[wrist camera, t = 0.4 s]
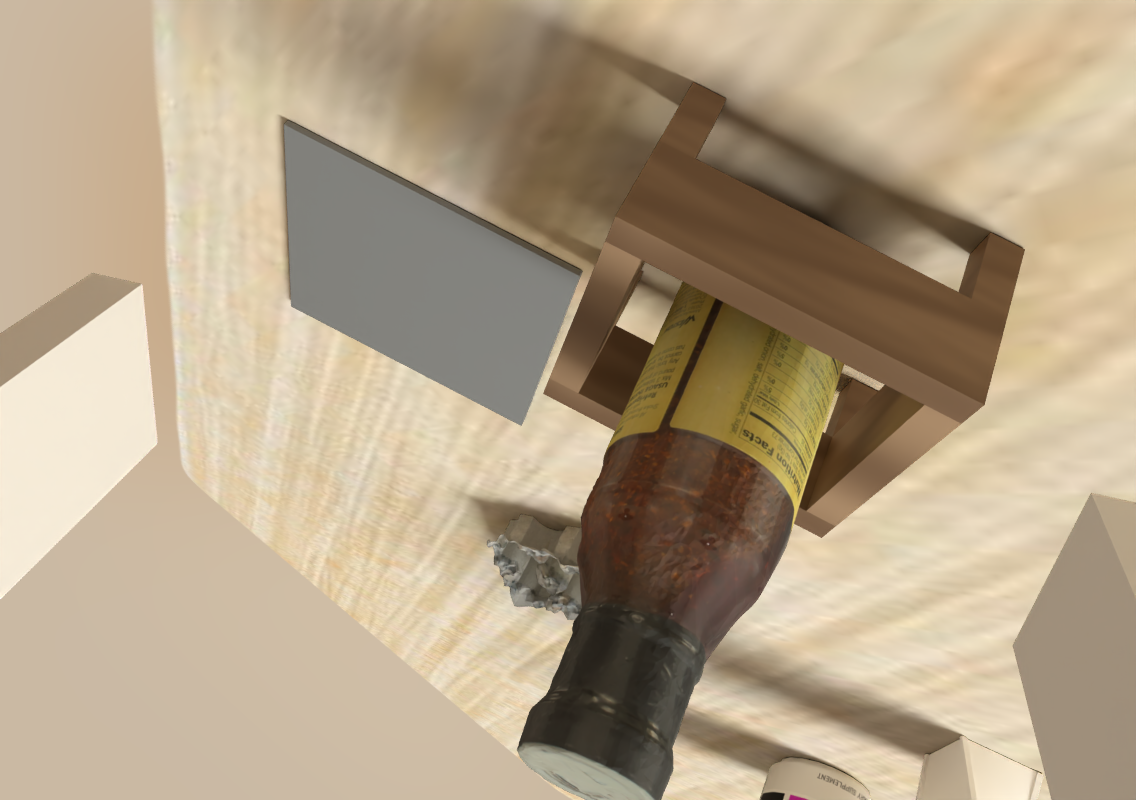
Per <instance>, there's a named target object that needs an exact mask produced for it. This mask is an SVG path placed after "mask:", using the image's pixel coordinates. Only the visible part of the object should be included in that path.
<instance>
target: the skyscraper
mask: <svg viewBox="0 0 1136 800" xmlns="http://www.w3.org/2000/svg"><path fill="white" fill-rule="evenodd" d="M1042 780H1043V774H1041V773H1039V772H1036V771H1034V770H1032V769H1030V768H1028V767H1026V766H1024V765H1022V764H1019V763H1017V762H1015V761H1013V760H1011V759H1009V758H1007V757H1004V756H1002V755H1000V754H998V753H996V752H994V751H992V750H990V749H987V748H985V747H983V746H981V745H979V744H977V743H975V742H972V741H970V740H968V738H967V737H965V736H960V739H959V740H957V741H955V742H953V743H951V744H949V745H947V746H945V747H944V748H942V749H940V750H938V751H936V752H934V753H932V754H930V755H929V754H925V755H924V760H923V765H922V770H921V775H920V781H919V786H918V791H917V796H916V800H1038V796H1039V792H1040V788H1041V784H1042Z"/></svg>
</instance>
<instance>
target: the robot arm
mask: <svg viewBox="0 0 1136 800" xmlns="http://www.w3.org/2000/svg"><path fill="white" fill-rule="evenodd" d="M148 350H149V349H148V339H147V328H146V318H145V308H144V297H143V287H142V284H140V283H135V282H131V281H127V280H122V279H117V278H113V277H109V276H104V275H99V274H95V273H91V274H90V275H88V276H87V277H85V278H84V279H82V280H80V281H79V282H77V283H76V284H75V285H73V286H71V287H70V288H68V289H67V290H65V291H64V292H62V293H61V294H59V295H58V296H56V297H55V298H53V299H52V300H50V301H49V302H47V303H46V304H44V305H43V306H41V307H40V308H38V309H36V310H35V311H33V312H32V313H30V314H29V315H28V316H26V317H24V318H23V319H21V320H20V321H18V322H17V323H15V324H14V325H12V326H11V327H9V328H8V329H6V330H5V331H3V332H2V333H0V599H1V598H2V597H3V596H4V595H5V594H6V593H7V592H8V591H9V590H10V589H11V588H12V587H13V586H14V585H15V584H16V583H17V582H18V581H19V580H20V579H21V578H22V577H23V576H24V575H25V574H26V573H27V572H28V571H29V570H30V569H32V568H33V567H34V566H35V565H36V563H38V562H39V561H40V560H41V559H42V557H44V556H45V555H46V554H47V553H48V552H49V551H50V550H51V549H52V548H53V547H54V546H55V544H57V543H58V542H59V541H60V540H61V539H62V538H63V537H64V536H65V535H66V534H67V533H68V532H69V531H70V530H71V529H72V528H73V527H74V526H75V525H76V524H77V523H78V522H79V521H80V520H81V519H82V518H83V517H84V516H85V515H86V514H87V513H88V512H89V511H90V510H91V509H92V508H93V507H94V506H95V505H96V504H97V503H98V502H99V501H100V500H101V499H102V498H103V497H104V496H105V495H106V494H107V493H108V492H109V491H110V490H111V489H112V488H113V487H114V486H115V485H116V484H117V483H118V482H119V481H120V480H121V479H122V478H123V477H124V476H125V475H126V474H127V473H128V472H129V471H130V470H131V469H132V468H133V467H134V466H135V465H136V464H137V463H138V462H139V461H140V460H141V459H142V458H143V457H144V456H145V455H146V454H147V453H148V452H149V451H150V450H151V449H152V448H153V447H155V446H156V445H157V432H156V422H155V412H154V401H153V392H152V391H153V390H152V380H151V370H150V359H149V351H148ZM1013 648H1014V652H1015V656H1016V660H1017V664H1018V668H1019V672H1020V676H1021V680H1022V684H1023V688H1024V692H1025V696H1026V700H1027V704H1028V708H1029V712H1030V716H1031V720H1032V724H1033V728H1034V732H1035V736H1036V740H1037V744H1038V748H1039V752H1040V756H1041V760H1042V763H1043V767H1044V771H1045V775H1046V779H1047V783H1048V787H1049V791H1050V795H1051V799H1052V800H1136V503H1135V502H1130V501H1126V500H1121V499H1117V498H1112V497H1108V496H1103V495H1099V494H1094V493H1091V494H1090V496H1089V498H1088V500H1087V502H1086V504H1085V506H1084V508H1083V510H1082V511H1081V513H1080V515H1079V517H1078V519H1077V521H1076V523H1075V525H1074V527H1073V529H1072V531H1071V533H1070V535H1069V537H1068V539H1067V541H1066V543H1065V545H1064V547H1063V548H1062V550H1061V552H1060V554H1059V556H1058V558H1057V560H1056V562H1055V564H1054V566H1053V568H1052V570H1051V572H1050V574H1049V576H1048V578H1047V580H1046V582H1045V584H1044V585H1043V587H1042V589H1041V591H1040V593H1039V595H1038V597H1037V599H1036V601H1035V603H1034V605H1033V607H1032V609H1031V611H1030V613H1029V615H1028V617H1027V619H1026V621H1025V622H1024V624H1023V626H1022V628H1021V630H1020V632H1019V634H1018V636H1017V638H1016V640H1015V642H1014V644H1013Z"/></svg>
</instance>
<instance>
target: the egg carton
mask: <svg viewBox="0 0 1136 800" xmlns="http://www.w3.org/2000/svg"><path fill="white" fill-rule="evenodd" d="M581 538H582V529H581V528H578V527H570V526H566V529H565V530H564V531H556V530H552V529H550V528H547V527H545V526H544V525H542V524H541V523H539V522H538V521H537V520H536V519H535V518H534V517H532V516H529V515H523V514H520V517H519V519H518V520H510V523H509V525H508V527H507V528H506V531H505V533H504V535H503V534H501V535H500V536H499V538H498V540H497V541H493V542H490V540H488V541H487V546H488V547H491V546H493V548H494V553H495V556H494V565H496V566H497V565H498V566H499V568H500V575H501V576H502V577H503V580H504V586H509V587H510V594H511V598H512V601H513V604H514V606H517V607H525V606H531V607H535V608H542V607H546V610H548V611H552V612H553V613H557V612H559V611H560V610H561V611H563V613H564V614H565V616H566V618H567V619H568V620H574V619H576V617H577V616H578V615H579V613H580V611H581V609H582V603H581V592H580V575H579V568H578V563H577V553H578V549H579V545H580V542H581Z"/></svg>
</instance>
